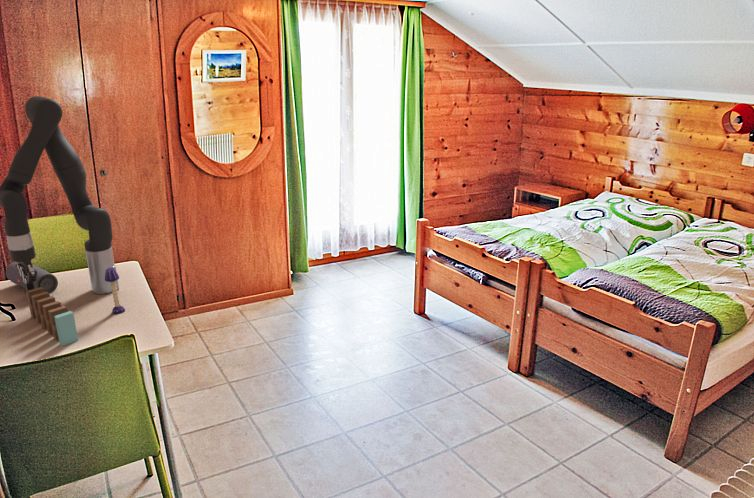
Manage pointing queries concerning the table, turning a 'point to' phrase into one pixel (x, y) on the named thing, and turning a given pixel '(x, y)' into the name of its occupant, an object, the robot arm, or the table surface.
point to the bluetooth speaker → (42, 278)
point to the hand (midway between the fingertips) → (31, 291)
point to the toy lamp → (114, 288)
